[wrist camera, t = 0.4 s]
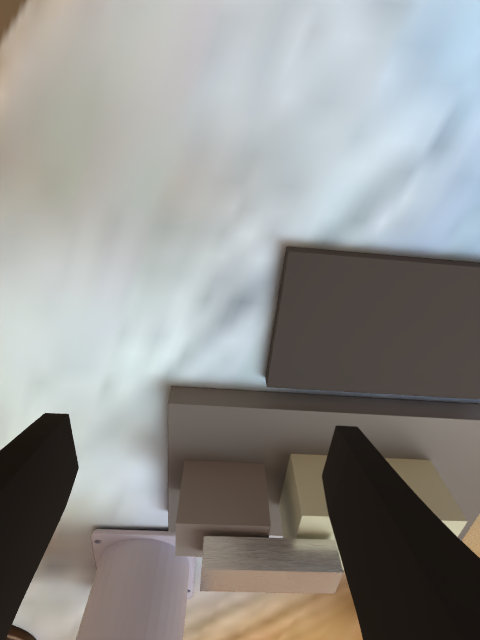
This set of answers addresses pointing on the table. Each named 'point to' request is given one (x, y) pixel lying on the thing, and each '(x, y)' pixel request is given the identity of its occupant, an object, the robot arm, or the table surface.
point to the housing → (295, 438)
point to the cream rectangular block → (311, 509)
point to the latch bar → (270, 565)
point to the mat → (376, 325)
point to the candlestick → (18, 634)
